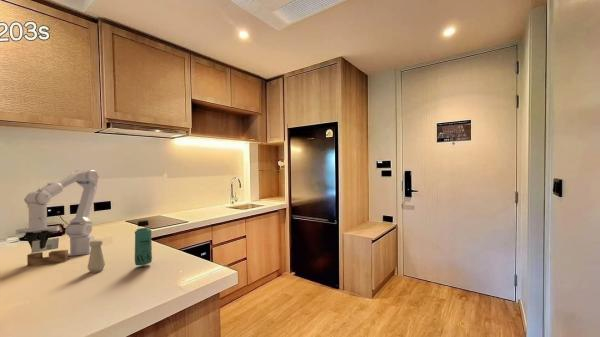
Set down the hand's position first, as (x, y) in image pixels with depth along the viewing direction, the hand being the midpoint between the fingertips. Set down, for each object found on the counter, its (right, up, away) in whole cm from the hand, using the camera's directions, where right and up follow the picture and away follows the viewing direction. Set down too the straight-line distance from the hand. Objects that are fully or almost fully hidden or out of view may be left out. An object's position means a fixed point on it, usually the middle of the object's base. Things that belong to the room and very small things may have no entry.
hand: (38, 248), depth 114 cm
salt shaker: (+32, -8, -7) cm, 33 cm away
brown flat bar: (-1, -9, +6) cm, 10 cm away
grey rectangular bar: (-2, -2, +5) cm, 6 cm away
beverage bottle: (+49, -7, -3) cm, 50 cm away
